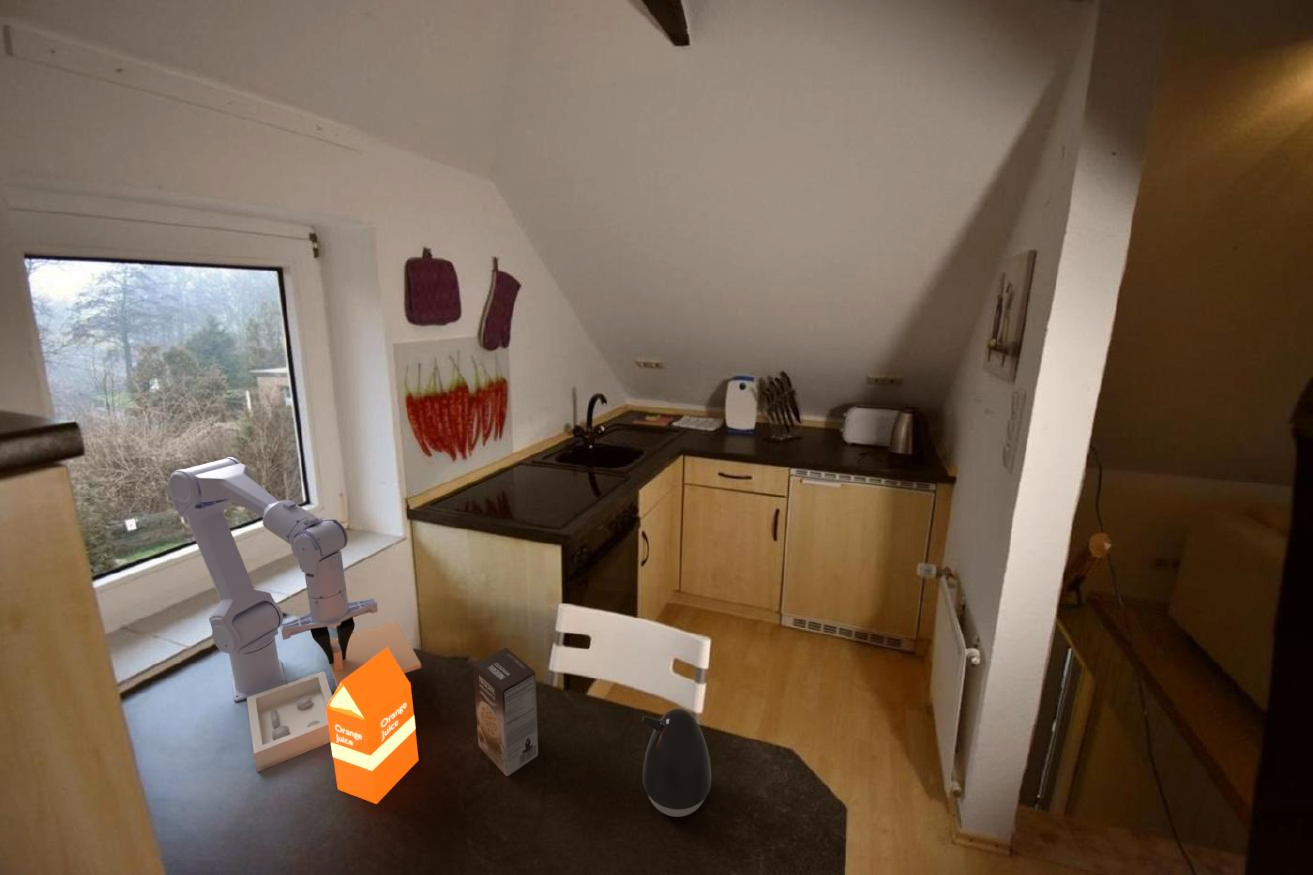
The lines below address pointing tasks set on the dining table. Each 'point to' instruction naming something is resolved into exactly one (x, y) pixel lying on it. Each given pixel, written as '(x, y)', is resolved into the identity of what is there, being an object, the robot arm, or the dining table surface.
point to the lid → (373, 650)
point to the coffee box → (506, 710)
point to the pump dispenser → (676, 764)
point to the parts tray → (289, 720)
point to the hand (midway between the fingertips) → (336, 659)
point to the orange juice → (372, 728)
